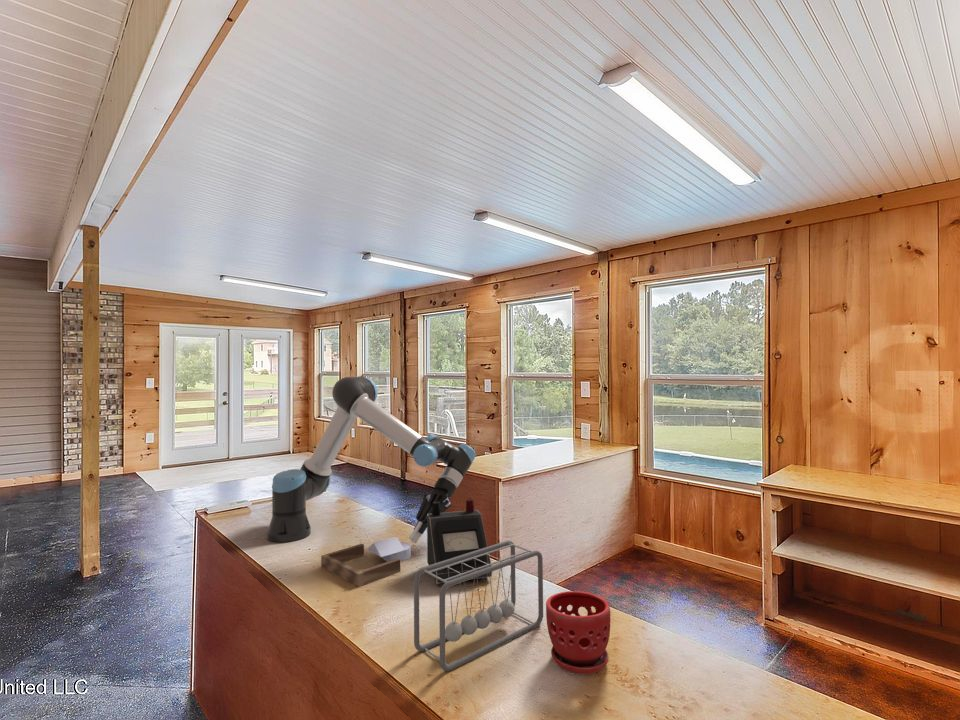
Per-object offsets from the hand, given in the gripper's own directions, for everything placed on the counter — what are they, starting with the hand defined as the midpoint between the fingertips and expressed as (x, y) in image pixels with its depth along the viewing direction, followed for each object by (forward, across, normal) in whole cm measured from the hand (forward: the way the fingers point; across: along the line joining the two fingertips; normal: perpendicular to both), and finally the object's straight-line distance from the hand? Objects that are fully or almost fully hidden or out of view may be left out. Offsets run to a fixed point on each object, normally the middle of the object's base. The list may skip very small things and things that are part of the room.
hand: (412, 540), depth 164 cm
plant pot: (+15, -75, +9) cm, 77 cm away
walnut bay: (+16, 0, +11) cm, 20 cm away
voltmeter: (+5, -25, -1) cm, 25 cm away
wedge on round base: (+9, 0, +3) cm, 9 cm away
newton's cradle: (+20, -54, +14) cm, 59 cm away
